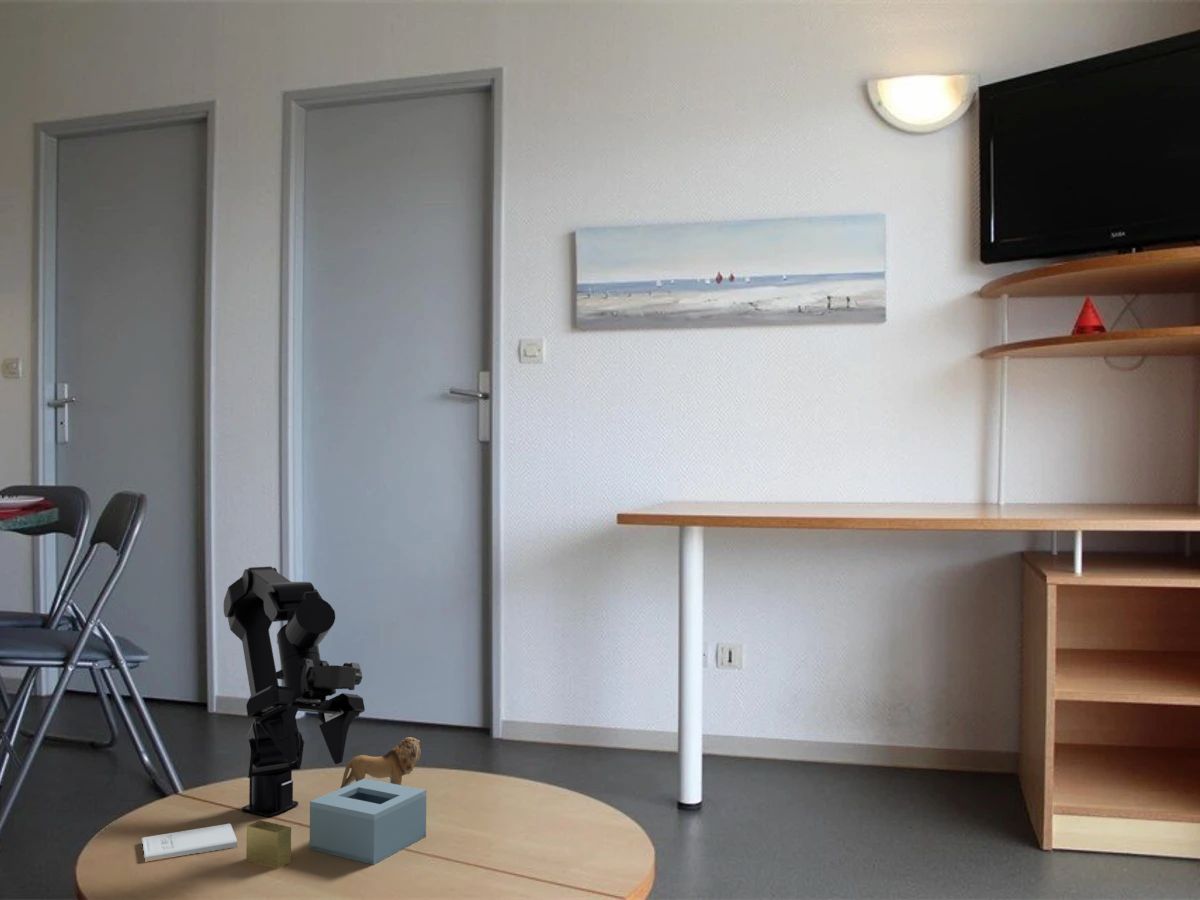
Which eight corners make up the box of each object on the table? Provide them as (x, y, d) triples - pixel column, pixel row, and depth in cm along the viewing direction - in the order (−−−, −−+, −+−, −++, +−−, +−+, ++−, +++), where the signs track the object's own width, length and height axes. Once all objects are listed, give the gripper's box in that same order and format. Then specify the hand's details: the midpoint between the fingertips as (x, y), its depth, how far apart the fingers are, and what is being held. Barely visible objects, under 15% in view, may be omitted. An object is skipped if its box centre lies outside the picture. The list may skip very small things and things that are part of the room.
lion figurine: (416, 783, 175) (417, 732, 175) (424, 792, 170) (424, 740, 170) (331, 794, 169) (332, 741, 169) (337, 804, 164) (337, 750, 164)
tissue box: (309, 849, 144) (309, 801, 145) (364, 823, 155) (364, 778, 155) (373, 864, 139) (374, 814, 139) (426, 836, 150) (426, 789, 150)
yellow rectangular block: (246, 861, 140) (246, 825, 140) (259, 855, 143) (260, 820, 143) (277, 869, 138) (277, 833, 138) (290, 862, 140) (291, 827, 140)
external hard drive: (237, 851, 145) (144, 866, 139) (229, 832, 153) (141, 846, 147) (237, 840, 145) (144, 855, 140) (230, 822, 153) (141, 835, 147)
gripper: (294, 631, 138) (311, 740, 131) (382, 647, 154) (401, 745, 147) (237, 661, 142) (251, 769, 135) (328, 674, 158) (345, 771, 151)
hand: (316, 762), depth 142 cm, fingers open, 9 cm apart
